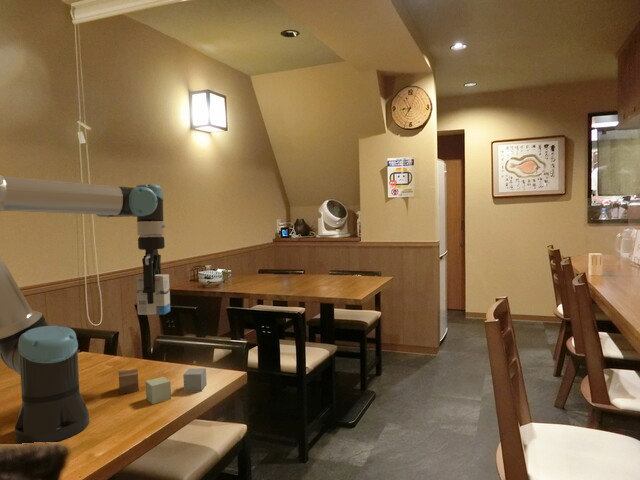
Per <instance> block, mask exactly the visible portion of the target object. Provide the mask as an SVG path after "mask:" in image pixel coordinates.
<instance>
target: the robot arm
mask: <svg viewBox="0 0 640 480" xmlns="http://www.w3.org/2000/svg"><path fill="white" fill-rule="evenodd" d="M163 196H164V195H163V187H161V186H160V185H159V184H152V183H151V184H146V183H145V184H137V185H136V186H135V187H131V186H130V187H129V186H118V185H108V184H95V183H85V182H75V181H73V182H72V181H64V180H63V181H61V180H50V179H38V178H30V177H29V178H27V177H26V178H25V177H17V176H16V177H15V176H7V175H6V176H3V175H2V174H0V212H21V213H22V212H23V213H50V214H53V213H54V214H81V215H96V216H97V217H98V218H104V217H105V218H126V217H127V218H128V217H129V218H130V217H132V218H133V217H135V218H136V222H137V223H136V224H137V225H136V226H137V227H136V228H137V230H136V231H137V236H139V237H138V238H137V247H138V249H139V250H140V251H143V250H144V251H145V254H144V256H143V257H142V260H141V262H142V272H143V273H142V275H143V281H144V291H143V293H146V310H147V315H146V316H152V315H151V314H157V309H156V292H155V275H156V274H162V266H161V263H162V262H161V261H162V260H161V259H162V255H161V254H159V251H158V250H162V249H165V248H166V247H165V236H164V233H165V229H166V227H167V225H166V224H164V197H163ZM78 348H79V343H78V339H77V333H76V332H75V331H74V330H73V329H72V328H71V327H67V326H62V325H61V326H59V325H50V324H49V323H48V321H47V320H46V317H45V316H44V315H43V313H42V311H37V310H33V309H32V308H31V306H30V304H29V303H28V301H27V299H26V297H25V295H24V294H23V292H22V290H21V289H20V287H19V285H18V283H17V282H16V280H15V278H14V277H13V275H12V273H11V271H10V269H9V268H8V266H7V264H6V263H5V261H4V259H3V258H2V256H1V255H0V359H1V361H2V362H3V364H5V365H6V366H7V368H10V369H11V370H13V371H15V372H16V373H17V374H18V375H19V377H20V387H21V388H20V393H21V406H20V409H19V412H18V416H17V418H16V422H15V426H14V440H15V442H17V443H18V444H21V443H34V442H51V443H55V442H58V441H62V440H65V439H68V438H71V437H72V436H74V435H77V434H78V433H80V432H82V431H84V430H85V429H86V428H87V427H88V425H89V423H90V413H89V409H88V406H87V405H86V403H85V400H84V398H83V397H82V394H81V392H80V391H81V390H80V376H79V375H80V373H79V370H80V369H79V356H78V355H79V354H78V353H79V351H78Z"/></svg>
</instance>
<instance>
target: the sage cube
mask: <svg viewBox="0 0 640 480" xmlns="http://www.w3.org/2000/svg"><path fill="white" fill-rule="evenodd" d="M171 390H172V389H171V380H169V379H168V378H166V377H165V376H160V377H156V378H151V379H148V380H145V399H146V400H147V401H149V403H151V404H152V405H154V404H158V403H162V402H166V401H169V400H172V391H171Z"/></svg>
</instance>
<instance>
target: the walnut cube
mask: <svg viewBox="0 0 640 480" xmlns="http://www.w3.org/2000/svg"><path fill="white" fill-rule="evenodd" d="M118 383H119V384H118V390H119V391H118V392H119V395H121V394H128V393H134V392H139V390H140V389H139V371H138V368H134V369H127V370H121V371H118Z"/></svg>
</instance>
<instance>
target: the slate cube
mask: <svg viewBox="0 0 640 480" xmlns="http://www.w3.org/2000/svg"><path fill="white" fill-rule="evenodd" d="M206 386H207V368H206V367H205V368H204V367H203V368H200V367H199V368H188V369H187V370H186V371H185V372H184V373H183V392H187V393H188V392H189V393H190V392H192V393H194V392H203V390H204V389H205V387H206Z"/></svg>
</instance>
